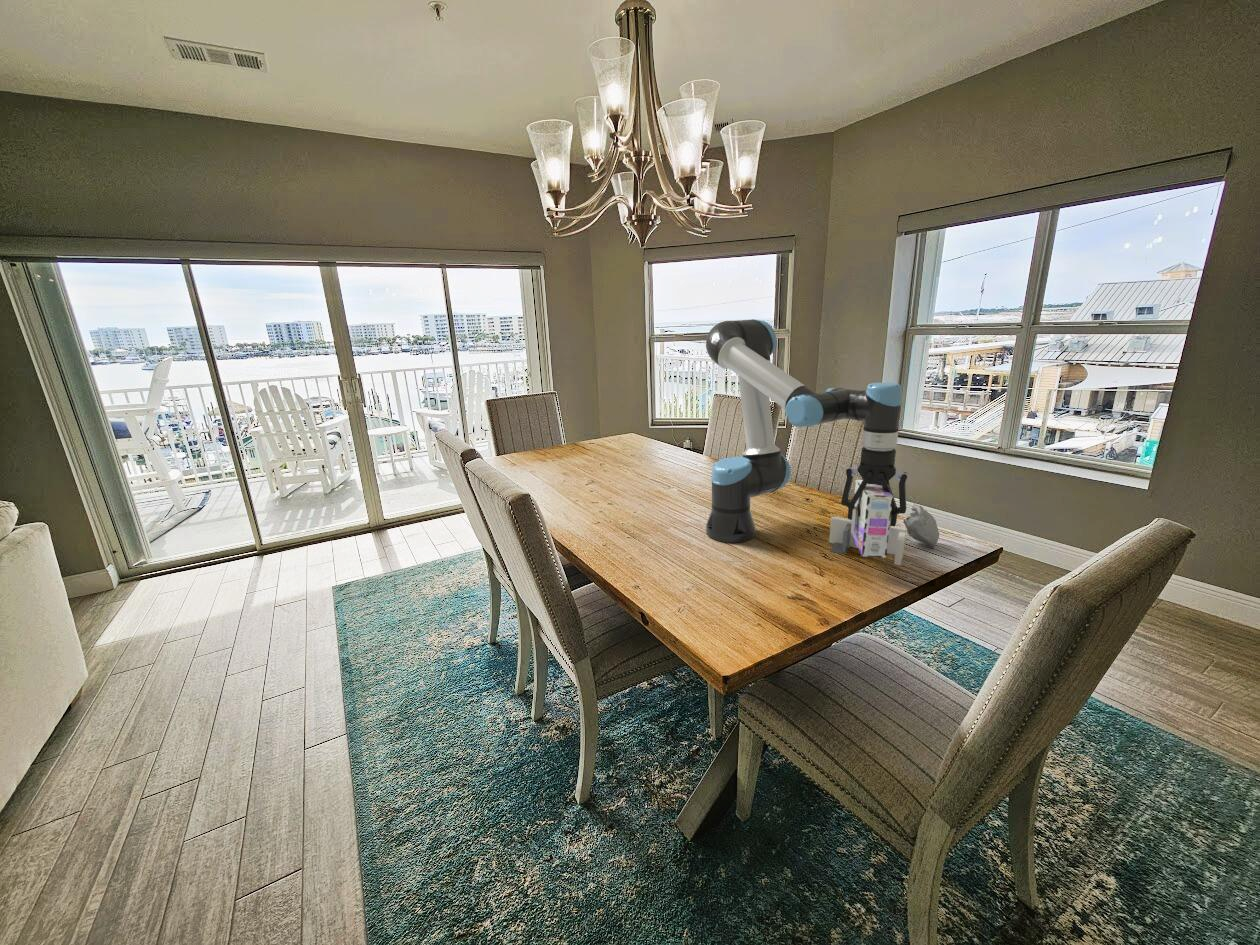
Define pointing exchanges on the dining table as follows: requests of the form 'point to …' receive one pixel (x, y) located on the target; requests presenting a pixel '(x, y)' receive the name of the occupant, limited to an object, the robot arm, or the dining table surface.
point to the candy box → (872, 520)
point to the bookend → (843, 546)
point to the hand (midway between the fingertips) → (870, 534)
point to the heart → (922, 526)
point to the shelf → (836, 535)
